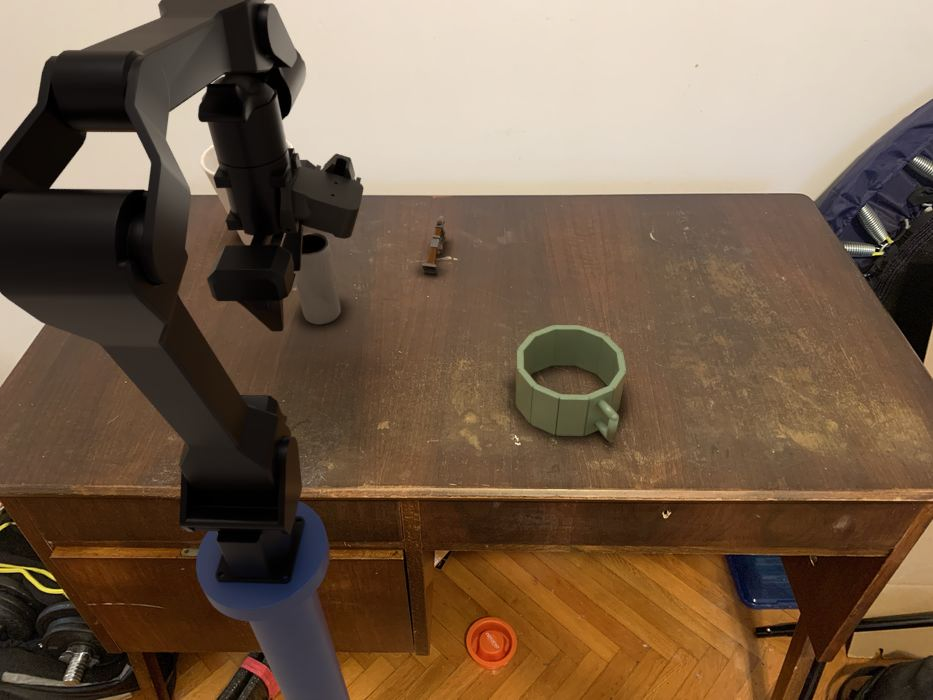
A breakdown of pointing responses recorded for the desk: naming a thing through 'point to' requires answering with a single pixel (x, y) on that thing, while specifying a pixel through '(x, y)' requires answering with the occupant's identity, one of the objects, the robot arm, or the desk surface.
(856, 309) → the desk surface
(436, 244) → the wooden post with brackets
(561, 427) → the mug
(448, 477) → the desk surface
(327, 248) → the grey hollow cylinder
